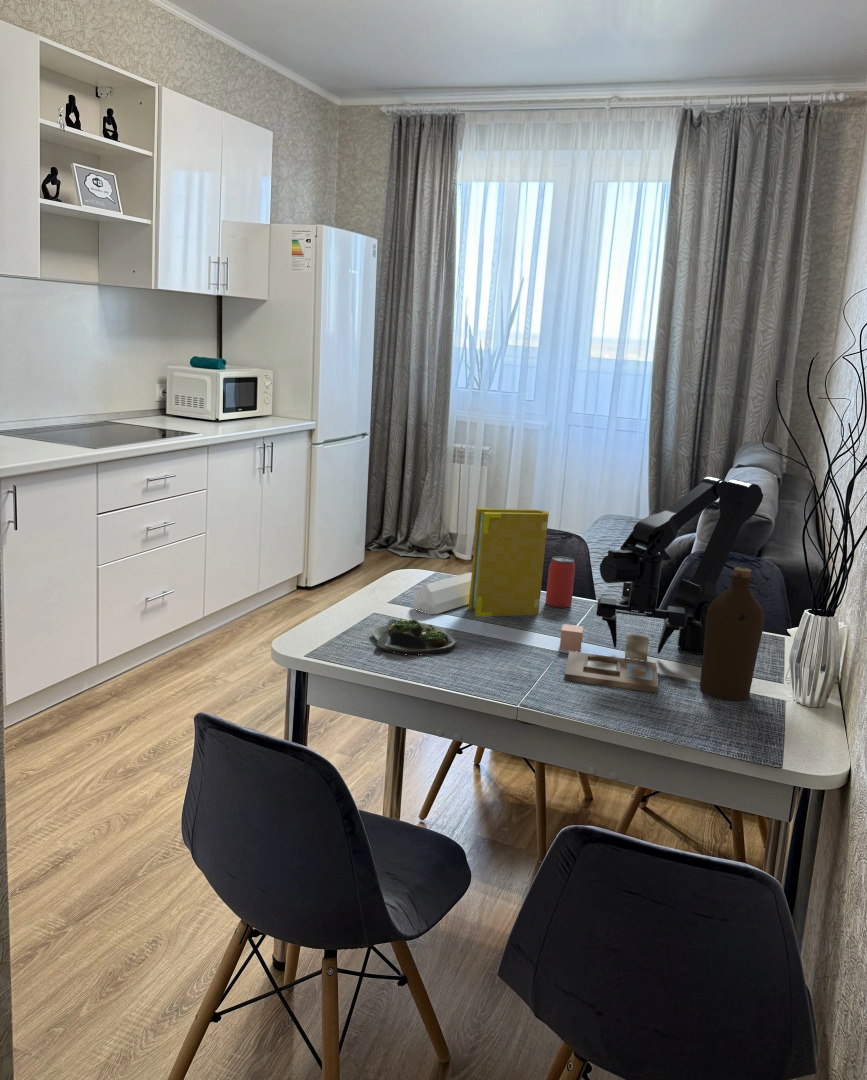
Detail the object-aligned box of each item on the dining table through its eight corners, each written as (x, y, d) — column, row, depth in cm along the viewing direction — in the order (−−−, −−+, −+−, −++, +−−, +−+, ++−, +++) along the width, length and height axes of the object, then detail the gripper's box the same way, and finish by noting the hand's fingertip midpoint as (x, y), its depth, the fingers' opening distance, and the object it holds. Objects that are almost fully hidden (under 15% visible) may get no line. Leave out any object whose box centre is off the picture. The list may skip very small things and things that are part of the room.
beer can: (563, 610, 222) (568, 563, 219) (540, 604, 226) (545, 558, 223) (575, 605, 227) (581, 559, 224) (553, 599, 231) (558, 554, 228)
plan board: (655, 668, 186) (656, 659, 185) (657, 692, 172) (659, 683, 172) (568, 656, 189) (569, 647, 189) (564, 679, 176) (565, 669, 175)
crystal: (438, 604, 206) (496, 586, 225) (418, 583, 209) (477, 567, 228) (423, 626, 210) (482, 607, 229) (404, 606, 213) (464, 588, 231)
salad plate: (356, 628, 198) (357, 608, 197) (432, 625, 204) (433, 605, 203) (381, 659, 180) (383, 638, 179) (463, 654, 186) (465, 633, 185)
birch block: (645, 654, 194) (648, 635, 193) (646, 661, 190) (648, 641, 189) (624, 651, 195) (627, 632, 194) (624, 658, 190) (627, 638, 189)
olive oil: (764, 699, 173) (784, 575, 167) (721, 704, 169) (740, 577, 163) (726, 679, 182) (744, 561, 177) (685, 683, 178) (702, 563, 173)
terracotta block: (581, 646, 197) (583, 626, 196) (580, 652, 192) (582, 632, 191) (560, 643, 197) (562, 623, 196) (559, 649, 193) (561, 630, 192)
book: (476, 616, 212) (485, 513, 206) (468, 608, 218) (476, 507, 212) (542, 615, 216) (553, 514, 211) (532, 607, 223) (542, 509, 217)
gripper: (688, 576, 194) (678, 644, 198) (601, 566, 198) (594, 633, 201) (692, 589, 184) (681, 660, 187) (600, 578, 187) (592, 648, 191)
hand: (636, 650), depth 192 cm, fingers open, 9 cm apart
